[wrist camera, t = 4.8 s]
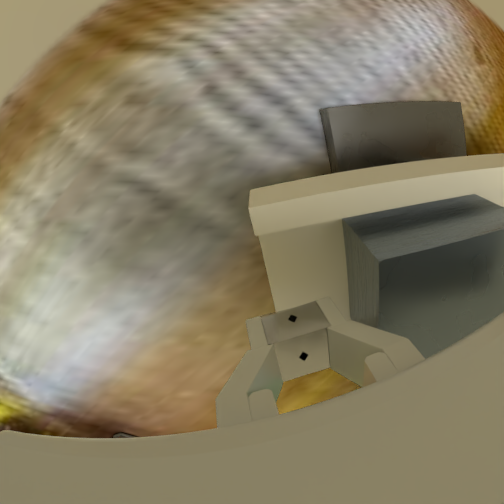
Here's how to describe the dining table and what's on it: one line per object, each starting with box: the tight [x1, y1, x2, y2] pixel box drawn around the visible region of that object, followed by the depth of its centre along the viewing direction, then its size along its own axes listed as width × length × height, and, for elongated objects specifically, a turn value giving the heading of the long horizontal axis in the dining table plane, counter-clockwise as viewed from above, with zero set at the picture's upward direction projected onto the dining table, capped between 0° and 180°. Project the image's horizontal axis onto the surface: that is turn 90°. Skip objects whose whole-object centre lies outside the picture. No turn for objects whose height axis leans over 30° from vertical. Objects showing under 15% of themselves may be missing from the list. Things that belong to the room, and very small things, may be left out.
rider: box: [342, 194, 504, 359], centre depth 10 cm, size 7×5×4 cm
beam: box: [248, 153, 504, 321], centre depth 11 cm, size 24×8×4 cm, turn 103°
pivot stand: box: [320, 102, 467, 174], centre depth 16 cm, size 12×14×6 cm
